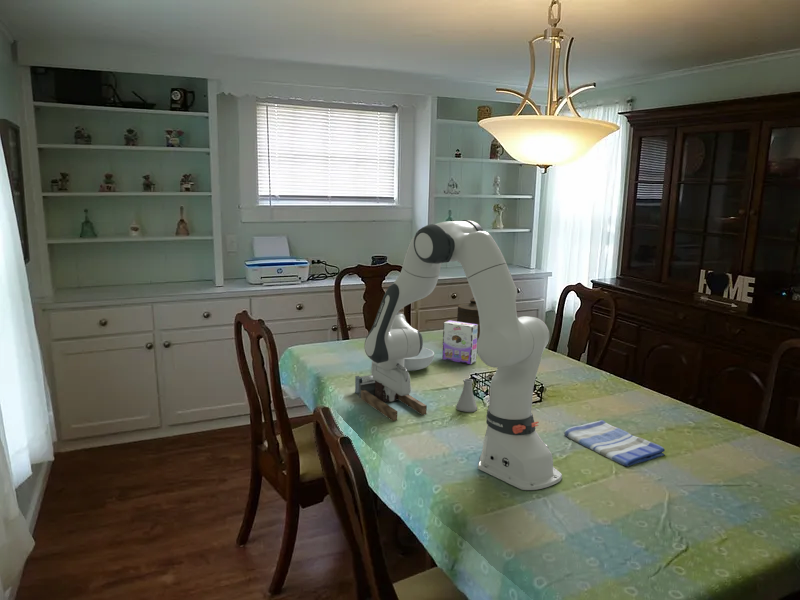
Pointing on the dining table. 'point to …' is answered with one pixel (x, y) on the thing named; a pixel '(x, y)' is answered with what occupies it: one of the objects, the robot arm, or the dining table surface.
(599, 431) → the dish towel
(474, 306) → the wooden container
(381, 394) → the box
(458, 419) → the dining table surface
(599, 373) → the dining table surface
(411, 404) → the bay
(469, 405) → the flask
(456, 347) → the candy box
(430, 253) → the robot arm
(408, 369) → the serving bowl
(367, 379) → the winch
